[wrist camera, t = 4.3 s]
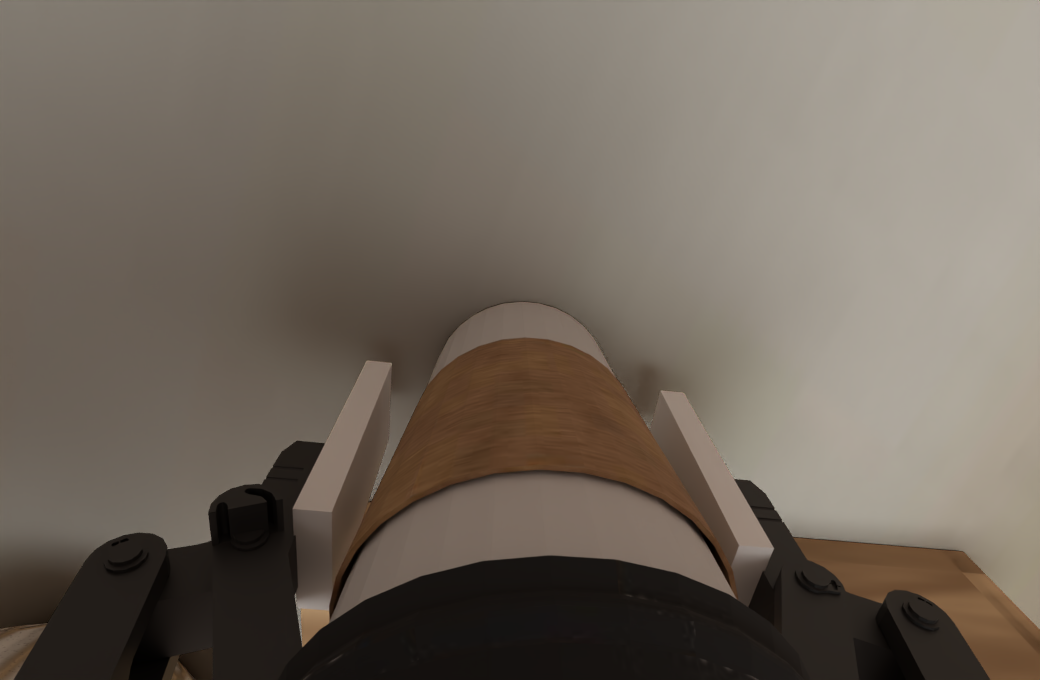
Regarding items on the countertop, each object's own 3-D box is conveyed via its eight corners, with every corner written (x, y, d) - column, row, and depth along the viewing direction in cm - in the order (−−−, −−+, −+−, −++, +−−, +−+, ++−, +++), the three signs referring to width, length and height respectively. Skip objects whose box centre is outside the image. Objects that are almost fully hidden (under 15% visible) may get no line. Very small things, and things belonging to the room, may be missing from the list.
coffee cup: (369, 290, 18) (-15, 878, 5) (626, 241, 18) (1009, 734, 4) (433, 493, 22) (316, 1171, 8) (651, 455, 21) (909, 1109, 8)
